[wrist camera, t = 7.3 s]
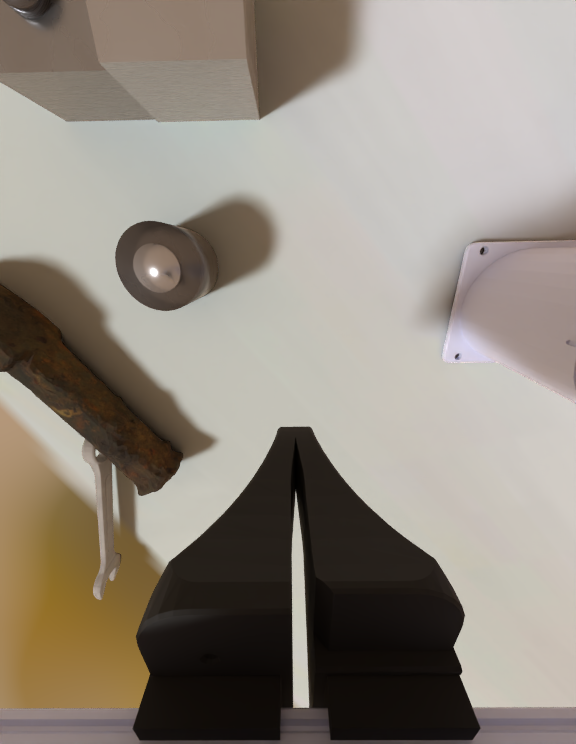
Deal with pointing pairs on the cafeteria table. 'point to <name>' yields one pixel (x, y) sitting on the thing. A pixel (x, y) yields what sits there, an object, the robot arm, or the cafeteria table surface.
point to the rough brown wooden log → (80, 395)
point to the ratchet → (60, 62)
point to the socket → (165, 265)
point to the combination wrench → (103, 517)
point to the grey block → (181, 55)
